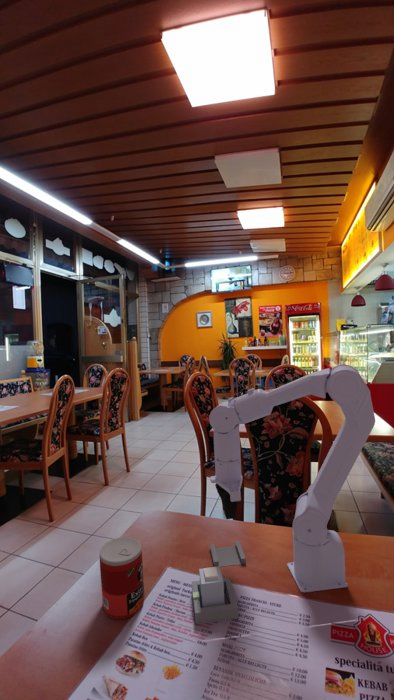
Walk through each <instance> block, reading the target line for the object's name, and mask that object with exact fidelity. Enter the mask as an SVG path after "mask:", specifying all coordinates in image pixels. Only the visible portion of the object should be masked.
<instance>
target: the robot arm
mask: <svg viewBox="0 0 394 700" xmlns="http://www.w3.org/2000/svg"><path fill="white" fill-rule="evenodd" d="M327 393H328V396H329V397H330V398H331V399H332V400H333V401H334V402H335V403H336V405H338V406H339V407H340V410H341V412H342V414H343V416H344V418H345V419H344V420H343V423H342V425H341V427H340V428H339V431H338V433H337V435H336V437H335V439H334V440H333V443H332V444H331V446H330V449H329V450H328V453H327V455H326V457H325V458H324V460H323V463H322V465H321V467H320V469H319V471H318V473H317V474H316V476H315V479H314V481H313V483H312V484H310V485H309V486H308V489H306V492H304V493H302V494H300V496H299V497H298V498H297V500H296V503H295V505H296V508H295V514H294V519H293V521H292V546H293V547H292V548H293V550H292V551H293V561H291V562H288V563H286V566H287V568H288V570H289V572H290V574H291V576H292V577H293V580H294V582H295V583H296V585H297V587H298V589H299V590H300V592H301V593H311V592H317V591H318V592H320V591H328V590H334V589H342V588H344V589H345V588H347V587H348V583H347V581H346V555H345V548H344V544H343V541H342V538H341V537H340V535H339V534H338V533H337V532H336V531H335V530H330V529H328V528H327V527H328V526H327V525H328V522H330V521H329V520H330V518H331V516H332V511H333V507H334V504H335V501H336V500H337V497H338V496H339V493H340V491H341V490H342V488H343V486H344V484H345V482H346V481H347V478H348V476H349V474H350V472H351V470H352V468H353V467H354V465H355V463H356V461H357V459H358V457H359V455H360V453H361V451H362V449H363V448H364V446H365V444H366V442H367V441H368V439H369V437H370V435H371V433H372V430H373V429H374V427H375V424H376V417H375V416H376V415H375V412H374V407H373V402H372V401H373V400H372V396H371V390H370V389H369V387H368V385H367V384H366V382H365V381H364V379H363V377H362V375H361V374H360V372H359V371H358V370H357V368H355V367H354V366H352V365H349V364H338V365H335V366H334V367H332V368H329V367H328V368H324V369H321V370H317V371H315V372H311V373H309V374H305V375H304V376H302V377H299V378H297V379H295V380H293V381H289V382H288V383H285V384H283V385H281V386H279V387H277V388H274V389H271V390H269V391H267V390H264V389H262V388H258V389H255V388H254V387H252V388H249V389H248V390H247V392H246V393H245V394H243V395H240V396H238V397H235V398H234V397H233V396H232V397H229V398H228V399H227V401H223V402H221V403H220V404H218V405H217V406H216V407H214V408H213V409H211V411H210V414H209V418H208V419H209V424H210V426H211V428H212V429H213V451H214V453H213V454H214V470H215V471H214V473H215V475H212V476H209V477H210V482H211V484H214V486H215V488H216V491H217V494H218V496H219V497H220V500H221V505H222V509H223V515H224V517H225V518H226V520H231V519H233V520H234V519H236V517H237V513H238V506H239V502H241V500H242V496H243V494H244V488H243V487H242V484H243V475H242V463H241V462H242V460H241V459H242V457H241V437H240V425H245V424H247V423H251V422H253V421H255V420H259V419H261V418H264V417H267V416H270V415H271V413H272V411H273V408H274V407H276V406H278V405H279V406H280V405H282V404H285V403H288V402H291V401H295V400H298V399H300V398H301V399H302V398H303V397H306V396H310V395H311V396H315V397H318V398H322V399H326V398H327V397H326V395H327Z"/></svg>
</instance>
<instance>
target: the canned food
mask: <svg viewBox="0 0 394 700" xmlns="http://www.w3.org/2000/svg"><path fill="white" fill-rule="evenodd" d="M143 563H144V562H143V550H142V544H141V542H140V540H138V539H136V538H134V537H131V536H130V537H129V536H122V537H117V538H113V539H111V540H108V541H107V542H105V543H104V544H103V545H102V547H101V548H100V550H99V568H100V569H99V570H100V583H101V584H100V587H101V596H102V597H101V598H102V599H101V600H102V606H103V610H104V612H105V613H106V616H108V617H110V618H111V619H114V620H124V619H129V618H131V617H133V616H134V615H136V614H137V613H138V612H139V611H140V610H141V608H142V607H143V605H144V602H145V581H144V568H143V567H144V566H143V565H144V564H143Z"/></svg>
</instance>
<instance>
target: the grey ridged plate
mask: <svg viewBox="0 0 394 700" xmlns="http://www.w3.org/2000/svg"><path fill="white" fill-rule="evenodd" d="M234 542H235V543H234V545H232V546H231V545H230V546H221V547H216V545H215V543H213V542H212V543H209V549H210V555H211V558H212V563H213V567H218V566H220V568H222V567H230V566H231V567H232V566H238V565H246V564H247V560H246V559H247V558H246V556H245V552H244V550H243V546H242V545H241V541H240V540H235V541H234Z"/></svg>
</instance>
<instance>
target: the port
mask: <svg viewBox="0 0 394 700" xmlns="http://www.w3.org/2000/svg"><path fill="white" fill-rule="evenodd" d="M222 578H223V582H224V592H226V597H227V601H228V604H225V605H219V606H211V607H203V608H202V607H201V602H200V601H201V600H200V599H201V595H200V580H195V581H193V580H191V591H192V601H193V602H192V603H193V608H194V609H193V610H194V619H195V625H201V624H202V625H203V624H209V623H216V622H217V623H218V622H222V621H223V622H224V621H231V620H238V619H239V606H238V604H237V603H238V602H237V600H236V595H235V592H234V589H233V588H234V587H233V583H232V580H231V577H230V576H227V577H222Z"/></svg>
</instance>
